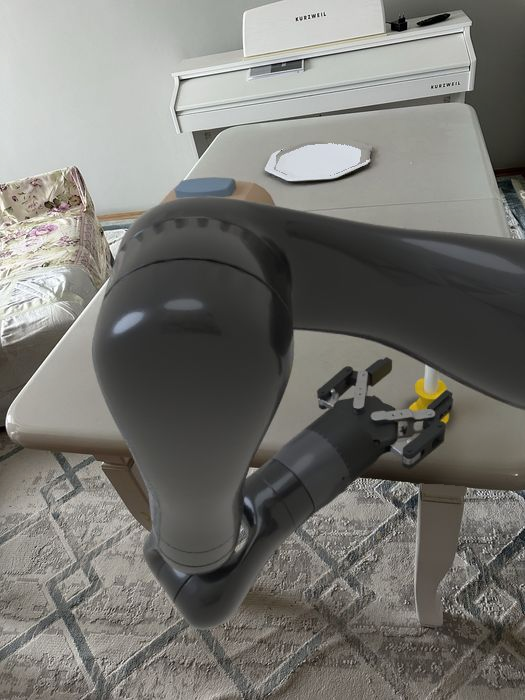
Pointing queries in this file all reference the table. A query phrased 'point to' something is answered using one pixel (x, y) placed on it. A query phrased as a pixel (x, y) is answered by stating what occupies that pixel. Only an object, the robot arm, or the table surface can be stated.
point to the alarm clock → (220, 190)
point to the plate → (315, 162)
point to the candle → (429, 390)
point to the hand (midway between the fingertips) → (418, 379)
